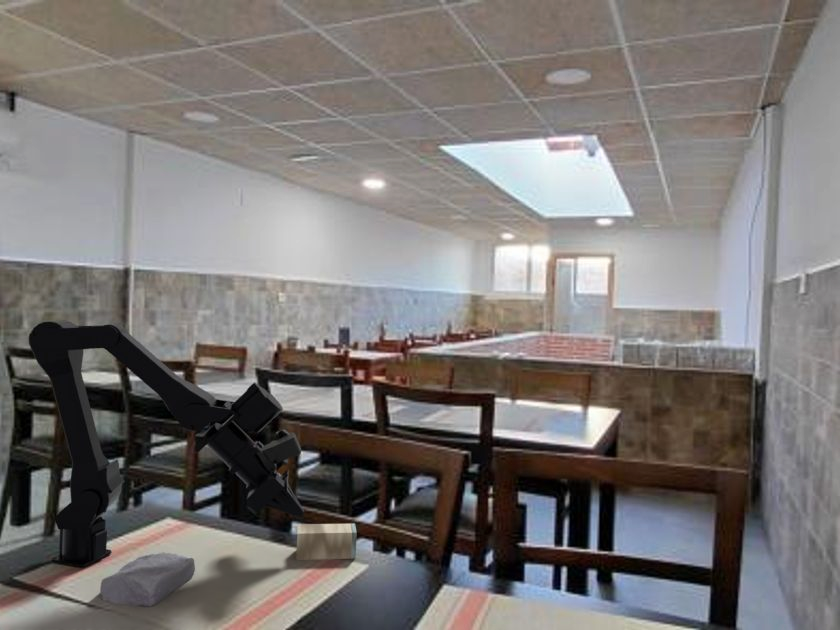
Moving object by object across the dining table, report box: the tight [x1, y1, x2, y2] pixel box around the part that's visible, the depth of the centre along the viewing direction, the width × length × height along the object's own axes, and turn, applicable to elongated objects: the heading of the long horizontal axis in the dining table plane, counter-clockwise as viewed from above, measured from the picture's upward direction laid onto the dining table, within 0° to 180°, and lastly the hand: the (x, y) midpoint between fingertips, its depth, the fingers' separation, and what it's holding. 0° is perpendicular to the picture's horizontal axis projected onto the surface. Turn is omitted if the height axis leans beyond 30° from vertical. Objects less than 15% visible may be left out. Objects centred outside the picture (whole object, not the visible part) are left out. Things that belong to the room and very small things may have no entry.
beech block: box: [296, 523, 357, 561], centre depth 112 cm, size 4×4×10 cm
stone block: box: [99, 552, 196, 608], centre depth 97 cm, size 12×5×10 cm
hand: (302, 514), depth 112 cm, fingers closed
